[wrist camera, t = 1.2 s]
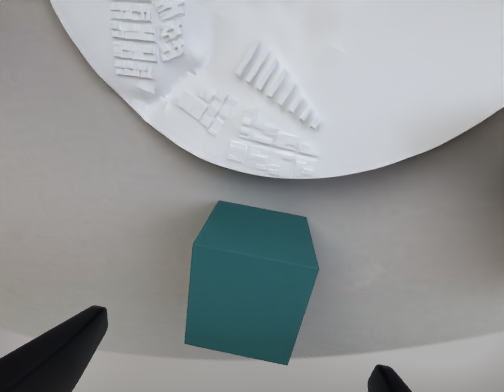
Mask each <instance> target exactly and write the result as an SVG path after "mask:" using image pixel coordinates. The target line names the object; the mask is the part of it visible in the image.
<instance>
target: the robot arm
mask: <svg viewBox="0 0 504 392" xmlns="http://www.w3.org/2000/svg"><path fill="white" fill-rule="evenodd" d="M107 328H108V318H107V309H106V308H105V307H101V306H96V305H94V306H91V307H89V308H87V309H86V310H84V311H82V312H80V313H79V314H77V315H75V316H73V317H72V318H70V319H68V320H66V321H65V322H63V323H61V324H59V325H58V326H56V327H54V328H53V329H51V330H49V331H47V332H46V333H44V334H42V335H40V336H39V337H37V338H35V339H33V340H32V341H30V342H28V343H26V344H25V345H23V346H21V347H19V348H18V349H16V350H15V351H12V352H11V353H9V354H7V355H5V356H4V357H2V358H0V392H72V390H73V389H74V387H75V385H76V384H77V382H78V381H79V379H80V377H81V376H82V374H83V372H84V370H85V369H86V367H87V365H88V363H89V361H90V360H91V358H92V356H93V354H94V353H95V351H96V349H97V347H98V345H99V344H100V342H101V340H102V338H103V336H104V335H105V333H106V331H107ZM368 392H412V391H411V390H410V389H409V388H408V386H407V385H406V384H405V383H404V382H403V381H402V379H401V378H400V377H399V376H398V375H397V373H396V372H395V371H394V370H393V369H392V368H391V367H389V366H384V365H376V366H375V368H374V370H373V372H372V374H371V376H370V378H369V380H368Z"/></svg>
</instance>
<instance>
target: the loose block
mask: <svg viewBox="0 0 504 392" xmlns="http://www.w3.org/2000/svg"><path fill="white" fill-rule="evenodd" d="M318 271H319V266H318V262H317V258H316V254H315V251H314V247H313V243H312V239H311V235H310V231H309V227H308V223H307V219H306V217H302V216H297V215H292V214H287V213H281V212H276V211H271V210H266V209H260V208H255V207H250V206H245V205H239V204H234V203H229V202H224V201H218V203H217V205H216V206H215V208H214V210H213V211H212V213H211V215H210V216H209V218H208V220H207V221H206V223H205V225H204V226H203V228H202V230H201V231H200V233H199V235H198V236H197V238H196V240H195V241H194V243H193V248H192V260H191V272H190V284H189V296H188V308H187V319H186V331H185V344H188V345H193V346H197V347H202V348H207V349H212V350H216V351H221V352H226V353H231V354H235V355H240V356H245V357H250V358H254V359H259V360H264V361H268V362H273V363H278V364H283V365H288V362H289V359H290V356H291V353H292V350H293V347H294V344H295V341H296V338H297V335H298V332H299V329H300V326H301V323H302V320H303V317H304V314H305V311H306V307H307V304H308V301H309V298H310V295H311V292H312V289H313V286H314V283H315V280H316V277H317V274H318Z"/></svg>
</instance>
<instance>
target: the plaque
mask: <svg viewBox="0 0 504 392" xmlns="http://www.w3.org/2000/svg"><path fill="white" fill-rule="evenodd" d="M50 2H51V4H52V6H53V8H54V10H55V12H56V14H57V16H58V18H59V20H60V22H61V23H62V25H63V27H64V28H65V30H66V32H67V33H68V35H69V36H70V38H71V39H72V40H73V42H74V43H75V45H76V46H77V48H78V49H79V50H80V52H81V53H82V54H83V56H84V57H85V59H86V60H87V61H88V63H89V64H90V65H91V67H92V68H93V69H94V70H95V71H96V73H97V74H98V75H99V76H100V77H101V78H102V79H103V80H104V81H105V82H106V83H107V84H108V85H109V86H110V87H111V88H112V89H114V90H115V91H116V92H117V93H118V94H119V95H120V96H121V97H122V98H123V99H124V100H125V101H126V102H127V103H128V104H129V105H130V106H131V107H132V108H133V109H134V110H135V111H136V112H137V113H138V114H139V115H140V116H141V117H142V118H143V119H144V120H145V121H146V122H147V123H149V124H150V125H151V126H153V127H154V128H155V129H156V130H158V131H159V132H160V133H162V134H163V135H164V136H166V137H167V138H168V139H170V140H171V141H173V142H174V143H175V144H177V145H178V146H180V147H181V148H183V149H185V150H186V151H188V152H190V153H192V154H193V155H195V156H197V157H199V158H201V159H203V160H206V161H208V162H211V163H213V164H216V165H219V166H222V167H225V168H229V169H232V170H236V171H239V172H244V173H248V174H253V175H259V176H265V177H273V178H286V179H287V178H288V179H313V178H327V177H336V176H343V175H349V174H354V173H359V172H364V171H369V170H373V169H377V168H380V167H384V166H387V165H390V164H393V163H396V162H398V161H401V160H404V159H407V158H409V157H412V156H415V155H417V154H420V153H423V152H426V151H428V150H431V149H433V148H435V147H437V146H439V145H441V144H443V143H445V142H447V141H449V140H451V139H453V138H454V137H456V136H458V135H460V134H462V133H463V132H465V131H467V130H468V129H470V128H472V127H473V126H475V125H477V124H478V123H480V122H481V121H483V120H485V119H486V118H488V117H489V116H491V115H492V114H494V113H495V112H497V111H498V110H500V109H501V108H503V107H504V0H50Z"/></svg>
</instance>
